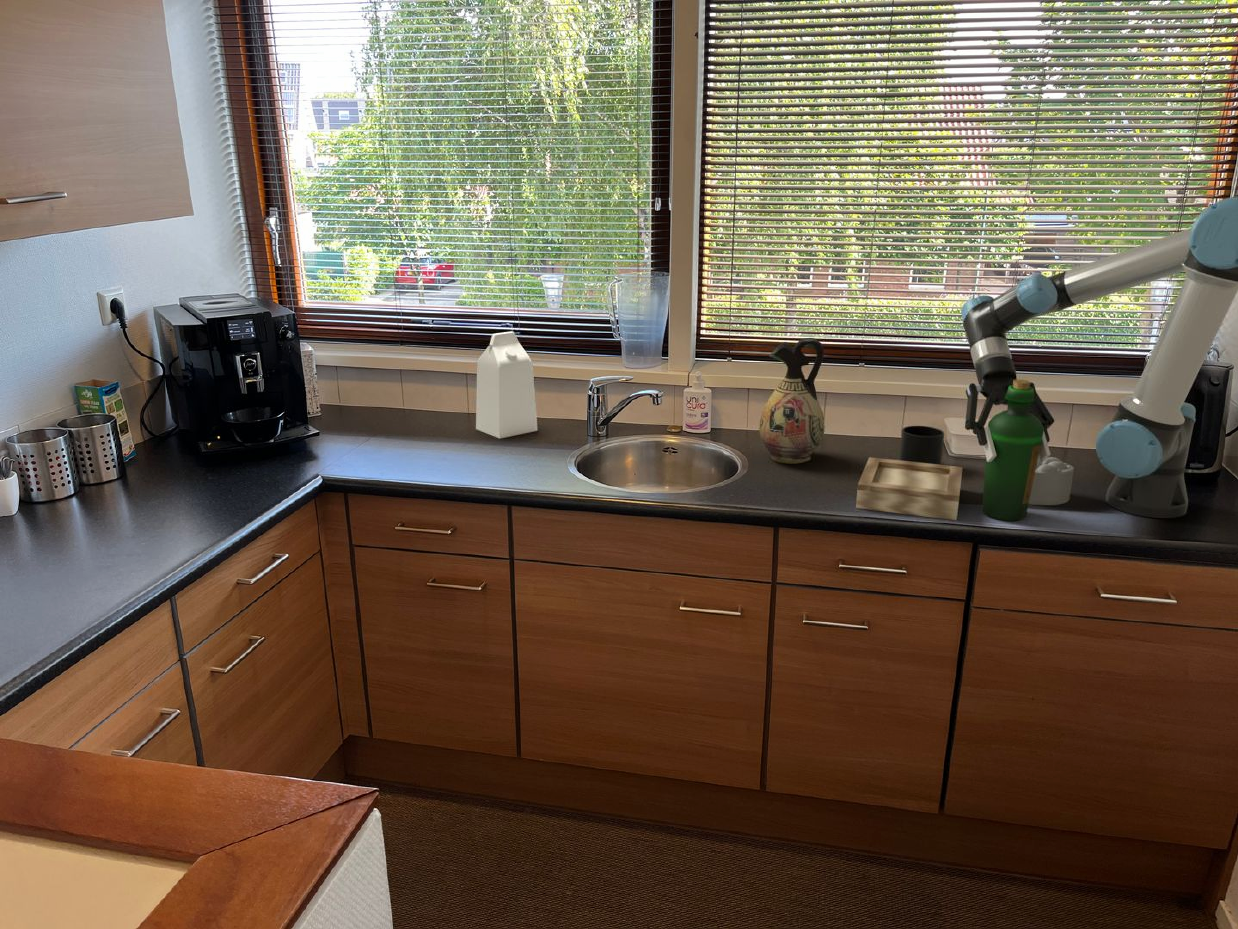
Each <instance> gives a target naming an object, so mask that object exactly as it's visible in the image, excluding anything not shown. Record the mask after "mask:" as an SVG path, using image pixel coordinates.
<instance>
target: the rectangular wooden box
mask: <svg viewBox="0 0 1238 929" xmlns="http://www.w3.org/2000/svg"><path fill="white" fill-rule="evenodd" d="M963 468H964V467H963V466H956V465H947V464H946V465H945V464H941V465H938V464H929V463H919V462H910V461H900V460H899V459H889V458H880V457H871V456H869V457H868V460H867V462H866V464H865V466H864V469H863V472H862V474H861V476H860V477H859V478H860V479H859V481H858V483H857V489H856V503H855V508H856V509H862V510H869V511H878V512H879V511H880V512H886V513H887V512H888V513H893V514H894V513H895V514H902V515H903V514H904V515H910V516H918V517H928V518H936V519H941V520H950V521H951V520H953V521H957V518H958V512H959V504H960V503H959V502H960V493H961V485H962V477H963Z"/></svg>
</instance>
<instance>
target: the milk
mask: <svg viewBox="0 0 1238 929" xmlns="http://www.w3.org/2000/svg"><path fill="white" fill-rule="evenodd" d="M534 378H535V377H534V366H533V361H532V360H531V357H530V355H528V353H527V351H526V350H525V349H524V348H523V346H522V345H521V342H519V340H518V337H517V335H516V333H515V332H514V331H506V332H505V331H504V332H498V333H497V332H496V333H492V335H491V337H490V343H489V345H488V346H487V347H486V349H485V350H484V351H483V353H482V354H481V355H480V356H479V357H478V360H477V364H476V401H475V402H476V405H475V406H476V408H475V411H476V412H475V430H476V431H479V432H482V433H485V434H487V435H490V436H492V437H494V438H497V439H504V438H509V437H513V436H518V435H523V434H527V433H532V432H537V431H538V418H537V404H536V390H535V379H534Z"/></svg>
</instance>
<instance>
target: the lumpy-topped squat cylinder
mask: <svg viewBox="0 0 1238 929" xmlns="http://www.w3.org/2000/svg"><path fill="white" fill-rule="evenodd" d="M1074 470H1075V468H1074V466H1072V465H1070V464H1068V463H1067V462H1063V461H1062V460H1061V459H1059V458H1058V457H1054V456H1053V457H1052V456H1049V457H1048V458H1047V459H1046V460H1045V461H1041V459H1040V456H1038V461H1037V466H1036V470H1035V475H1034V480H1033V485H1032V490H1031V494H1030V499H1029V504H1028V505H1032V506H1033V505H1035V506H1057V505H1062V504H1065V503H1068V502H1069V500H1070V497H1071V496H1070V495H1071V491H1072V483H1073V476H1074Z"/></svg>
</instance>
